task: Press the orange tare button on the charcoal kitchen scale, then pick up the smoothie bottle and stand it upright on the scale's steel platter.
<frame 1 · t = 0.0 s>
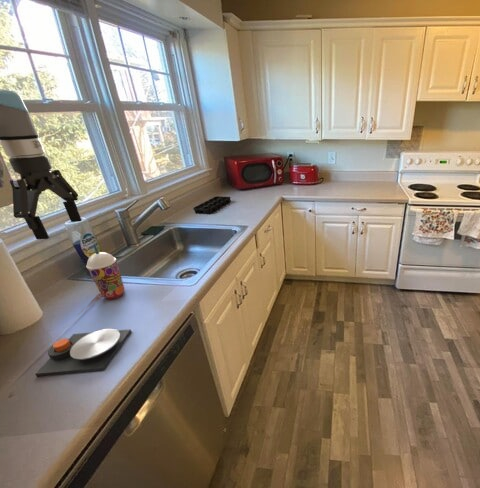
hand: (61, 229, 84), 29 cm above the countertop, tool pointing down, fingers open, 13 cm apart
platter: (96, 343, 77), resting on scale
smoothie: (114, 295, 102), on the countertop
scale: (88, 352, 78), on the countertop
tare button: (62, 345, 76), point 3 cm above the countertop, slide at 0.1 cm
egg carton: (213, 207, 194), on the countertop
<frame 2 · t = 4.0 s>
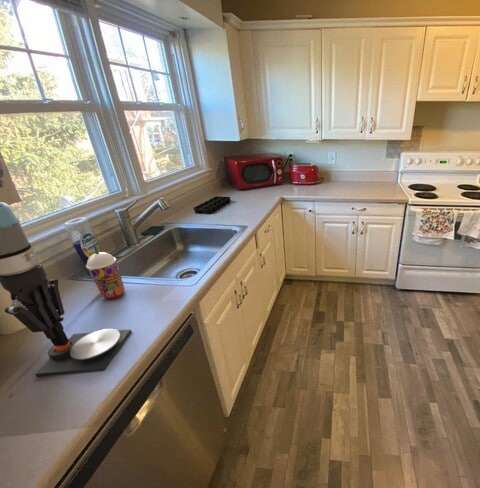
hand: (61, 343, 75), 4 cm above the countertop, tool pointing down, fingers closed
tare button: (62, 346, 76), point 3 cm above the countertop, slide at -0.4 cm, touching gripper
everything else where it was.
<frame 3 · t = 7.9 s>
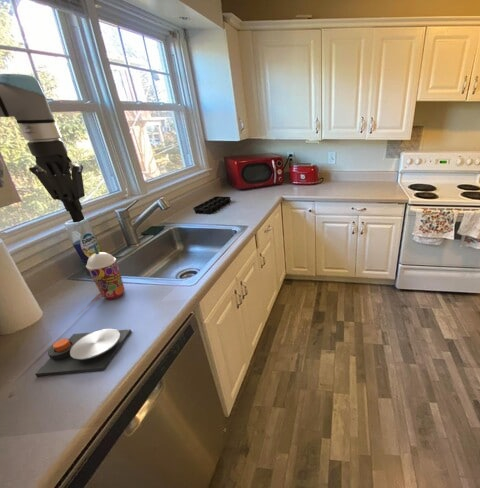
hand: (79, 220, 87), 30 cm above the countertop, tool pointing down, fingers closed
tare button: (62, 345, 76), point 3 cm above the countertop, slide at 0.1 cm
everything else where it was.
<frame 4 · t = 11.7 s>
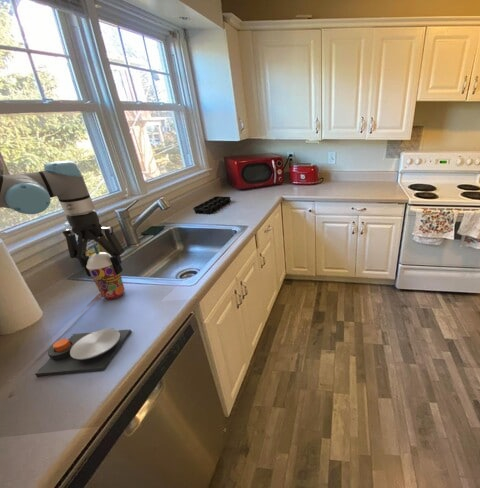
hand: (105, 273, 98), 9 cm above the countertop, tool pointing down, fingers closed on smoothie, 8 cm apart
smoothie: (114, 295, 102), on the countertop, touching gripper
everything else where it was.
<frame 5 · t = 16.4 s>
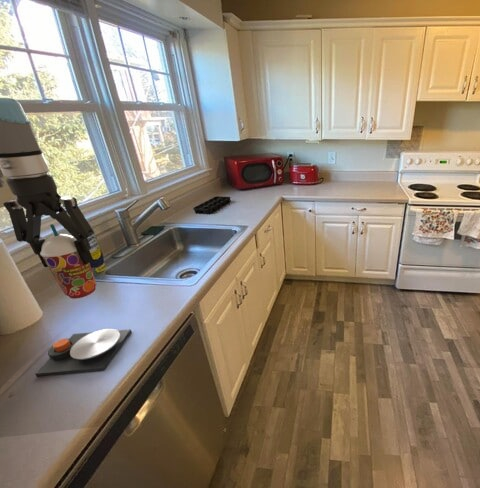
hand: (69, 263, 72), 25 cm above the countertop, tool pointing down, fingers closed on smoothie, 8 cm apart
smoothie: (83, 293, 76), point 16 cm above the countertop, touching gripper
everything else where it was.
when the fingers open (13 cm above the countertop, at t = 20.9 s): smoothie stays where it is, resting on platter.
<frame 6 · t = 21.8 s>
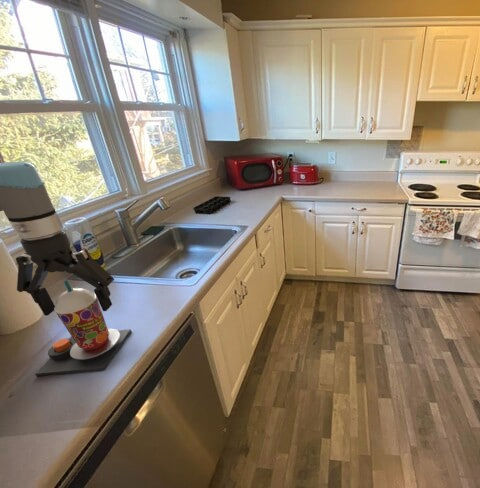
hand: (79, 310, 72), 15 cm above the countertop, tool pointing down, fingers open, 13 cm apart
smoothie: (96, 343, 77), point 3 cm above the countertop, touching platter
everything else where it was.
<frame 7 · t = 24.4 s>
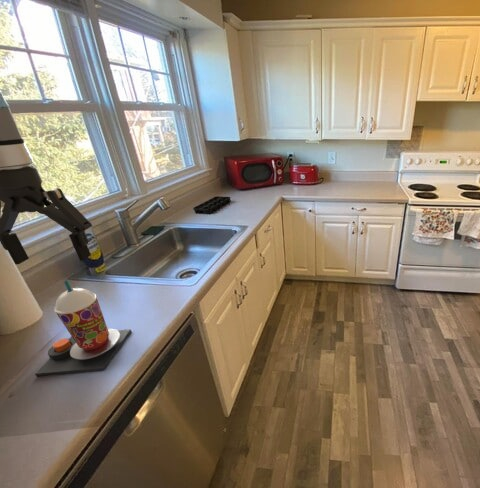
hand: (54, 259, 65), 29 cm above the countertop, tool pointing down, fingers open, 13 cm apart
nothing on the countertop moved.
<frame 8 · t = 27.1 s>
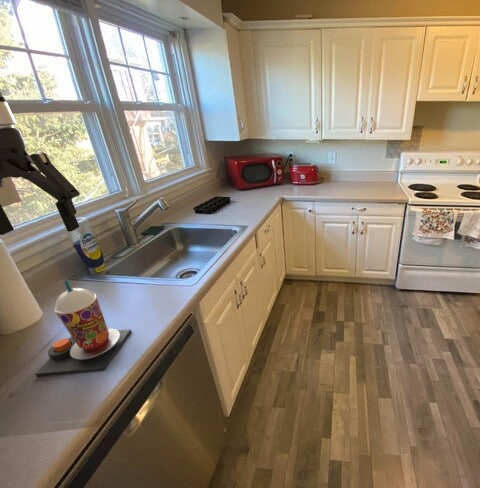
hand: (40, 230, 62), 37 cm above the countertop, tool pointing down, fingers open, 13 cm apart
nothing on the countertop moved.
at the end: tare button pushed in 0.8 cm at the most during the clip, back to where it started at the end; smoothie inside the target area on the scale (0.0 cm from its centre), point 3.2 cm above the scale's base; smoothie tilted 0° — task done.
